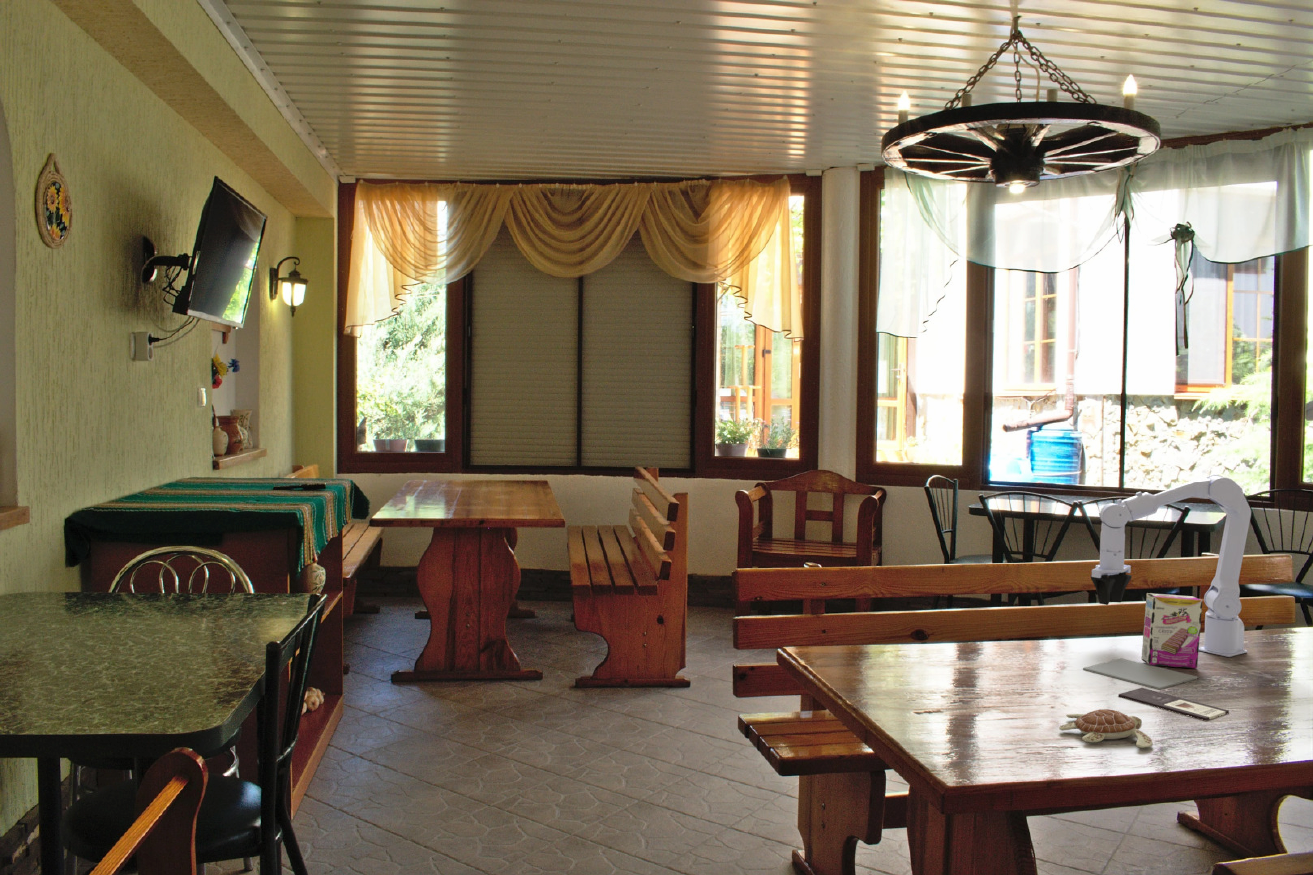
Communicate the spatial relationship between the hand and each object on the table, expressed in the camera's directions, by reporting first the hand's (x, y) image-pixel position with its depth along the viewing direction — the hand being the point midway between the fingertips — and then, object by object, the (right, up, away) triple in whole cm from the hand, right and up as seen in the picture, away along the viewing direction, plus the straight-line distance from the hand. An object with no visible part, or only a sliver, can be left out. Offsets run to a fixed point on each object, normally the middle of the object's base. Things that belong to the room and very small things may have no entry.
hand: (1110, 602), depth 251 cm
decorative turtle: (-33, -14, -69) cm, 77 cm away
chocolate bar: (-11, -13, -50) cm, 53 cm away
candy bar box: (+4, -11, -21) cm, 24 cm away
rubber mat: (-6, -12, -28) cm, 31 cm away
